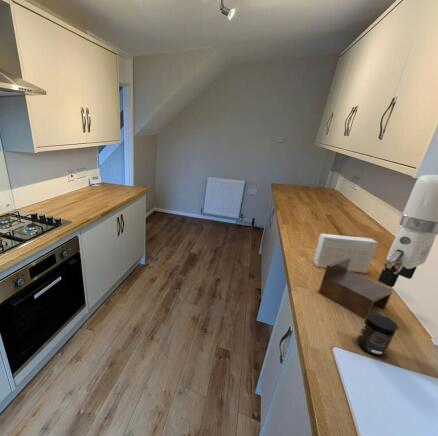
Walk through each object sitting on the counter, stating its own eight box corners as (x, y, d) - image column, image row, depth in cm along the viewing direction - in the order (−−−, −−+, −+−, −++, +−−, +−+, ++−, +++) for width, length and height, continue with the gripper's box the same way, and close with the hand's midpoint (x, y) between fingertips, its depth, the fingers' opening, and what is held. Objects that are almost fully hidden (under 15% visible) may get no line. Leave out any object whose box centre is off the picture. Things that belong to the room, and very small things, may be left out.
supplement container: (375, 341, 75) (387, 314, 71) (390, 359, 69) (404, 332, 65) (350, 336, 76) (361, 311, 72) (363, 354, 70) (375, 327, 66)
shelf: (385, 307, 89) (398, 278, 84) (365, 319, 83) (378, 288, 79) (338, 284, 103) (347, 257, 98) (318, 292, 97) (327, 265, 92)
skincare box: (361, 267, 115) (372, 238, 109) (367, 273, 110) (379, 243, 105) (311, 261, 120) (320, 232, 115) (315, 266, 115) (324, 237, 110)
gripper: (425, 234, 54) (396, 295, 60) (456, 224, 61) (427, 280, 67) (384, 223, 61) (361, 279, 67) (416, 215, 67) (393, 267, 73)
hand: (394, 279), depth 67 cm, fingers open, 9 cm apart
